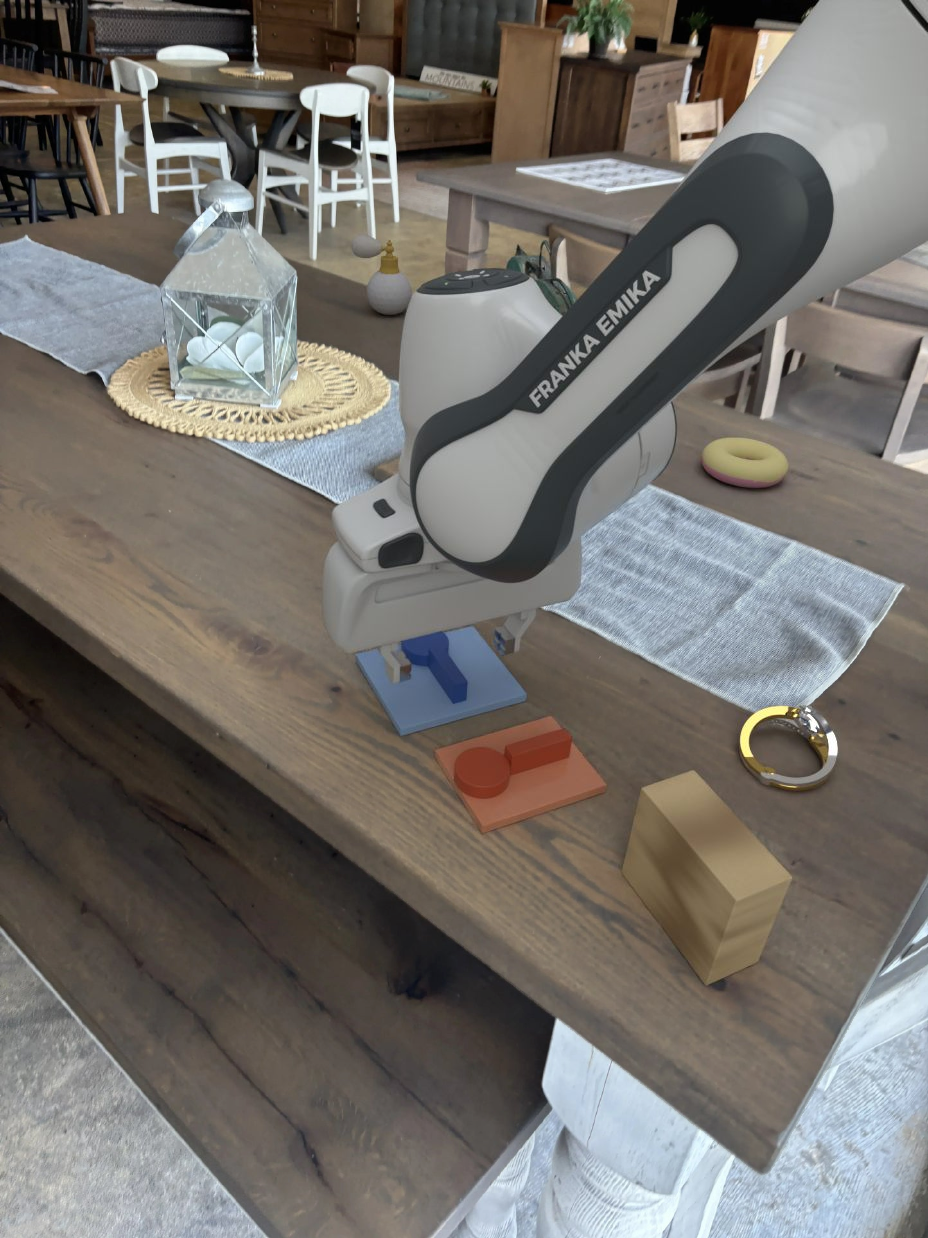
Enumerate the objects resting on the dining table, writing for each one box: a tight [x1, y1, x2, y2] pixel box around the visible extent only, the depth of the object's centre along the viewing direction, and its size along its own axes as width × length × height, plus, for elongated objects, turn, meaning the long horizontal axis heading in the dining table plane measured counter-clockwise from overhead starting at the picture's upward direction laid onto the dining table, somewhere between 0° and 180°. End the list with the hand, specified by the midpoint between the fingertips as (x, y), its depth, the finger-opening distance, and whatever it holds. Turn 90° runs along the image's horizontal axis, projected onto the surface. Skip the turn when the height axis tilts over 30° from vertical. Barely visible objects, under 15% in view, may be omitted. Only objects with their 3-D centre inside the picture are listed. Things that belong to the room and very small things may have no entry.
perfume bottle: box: [350, 234, 413, 316], centre depth 149 cm, size 8×10×12 cm
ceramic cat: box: [505, 239, 578, 316], centre depth 121 cm, size 20×6×20 cm, turn 20°
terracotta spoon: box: [454, 727, 573, 799], centre depth 65 cm, size 9×4×2 cm, turn 115°
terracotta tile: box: [434, 715, 607, 834], centre depth 66 cm, size 8×10×1 cm
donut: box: [701, 436, 789, 489], centre depth 109 cm, size 10×5×9 cm
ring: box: [738, 704, 838, 792], centre depth 69 cm, size 7×3×8 cm
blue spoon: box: [400, 631, 468, 704], centre depth 74 cm, size 9×4×2 cm, turn 25°
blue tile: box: [355, 625, 528, 737], centre depth 75 cm, size 10×11×1 cm
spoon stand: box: [621, 769, 793, 986], centre depth 55 cm, size 9×4×8 cm, turn 26°
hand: (453, 663), depth 72 cm, fingers open, 8 cm apart
